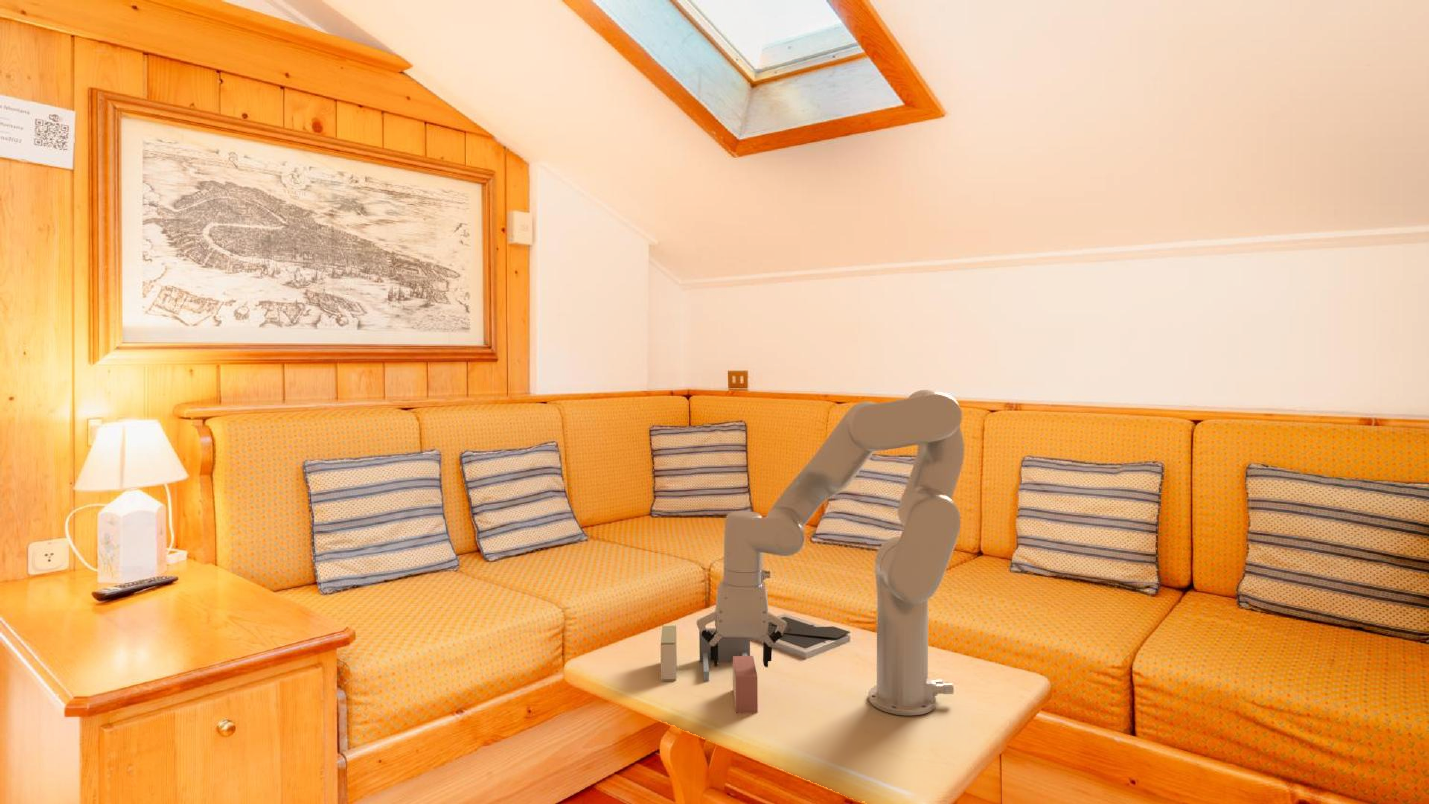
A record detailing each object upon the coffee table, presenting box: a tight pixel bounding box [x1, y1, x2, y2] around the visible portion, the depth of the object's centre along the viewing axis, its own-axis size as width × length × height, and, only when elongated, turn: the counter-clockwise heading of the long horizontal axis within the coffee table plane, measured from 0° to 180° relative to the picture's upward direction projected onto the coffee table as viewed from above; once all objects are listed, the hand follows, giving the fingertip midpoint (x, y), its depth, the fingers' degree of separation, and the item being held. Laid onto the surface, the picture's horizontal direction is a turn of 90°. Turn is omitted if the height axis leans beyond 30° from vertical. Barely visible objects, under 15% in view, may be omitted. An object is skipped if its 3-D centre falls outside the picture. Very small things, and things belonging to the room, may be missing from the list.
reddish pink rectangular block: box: [732, 655, 759, 714], centre depth 150 cm, size 4×10×7 cm, turn 2°
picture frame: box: [750, 613, 851, 660], centre depth 184 cm, size 16×3×21 cm
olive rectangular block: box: [660, 625, 678, 682], centre depth 165 cm, size 3×10×8 cm, turn 2°
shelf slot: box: [698, 627, 751, 682], centre depth 165 cm, size 11×11×7 cm
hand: (740, 664), depth 150 cm, fingers open, 9 cm apart
